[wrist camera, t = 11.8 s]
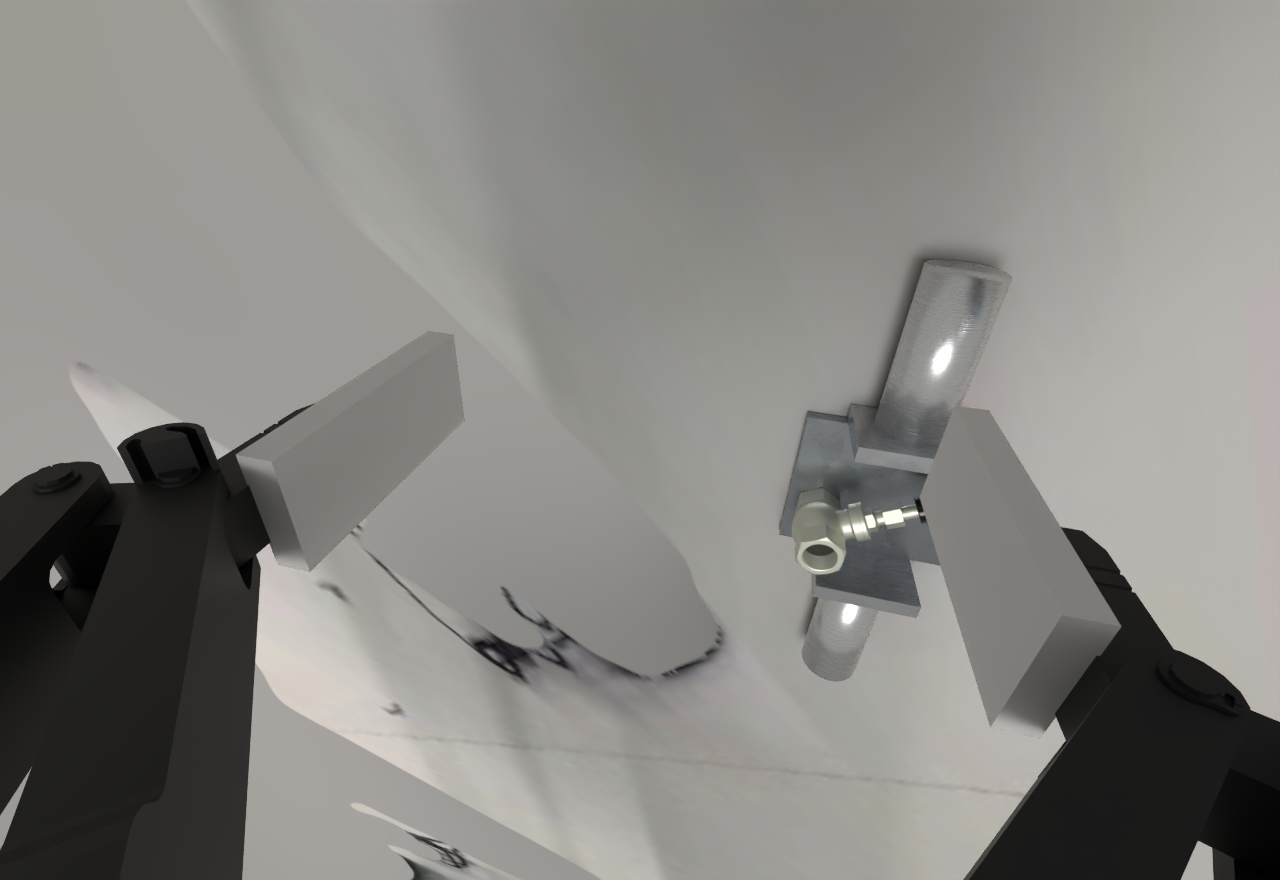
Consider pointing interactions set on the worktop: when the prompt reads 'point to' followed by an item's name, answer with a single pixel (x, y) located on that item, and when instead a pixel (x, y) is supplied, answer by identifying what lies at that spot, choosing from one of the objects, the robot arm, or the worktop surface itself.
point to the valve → (839, 527)
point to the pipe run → (892, 458)
